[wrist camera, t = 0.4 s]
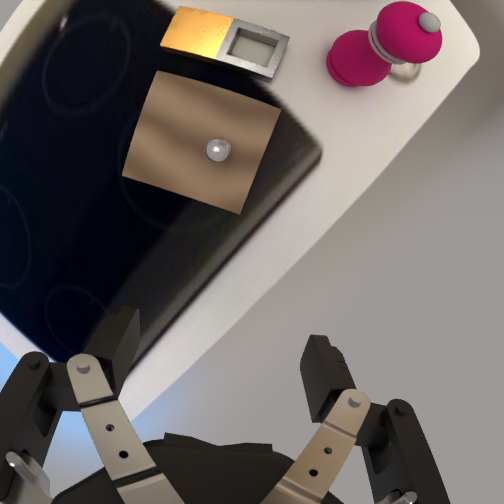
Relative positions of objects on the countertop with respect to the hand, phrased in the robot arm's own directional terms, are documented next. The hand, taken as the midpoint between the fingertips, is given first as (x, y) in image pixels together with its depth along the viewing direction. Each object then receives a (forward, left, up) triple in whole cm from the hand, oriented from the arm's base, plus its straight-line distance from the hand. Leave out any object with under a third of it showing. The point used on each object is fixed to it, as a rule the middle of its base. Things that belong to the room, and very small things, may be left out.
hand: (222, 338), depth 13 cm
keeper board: (-7, -7, -27) cm, 28 cm away
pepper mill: (-24, +7, -27) cm, 37 cm away
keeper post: (-7, -4, -25) cm, 26 cm away
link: (-20, -8, -27) cm, 34 cm away
